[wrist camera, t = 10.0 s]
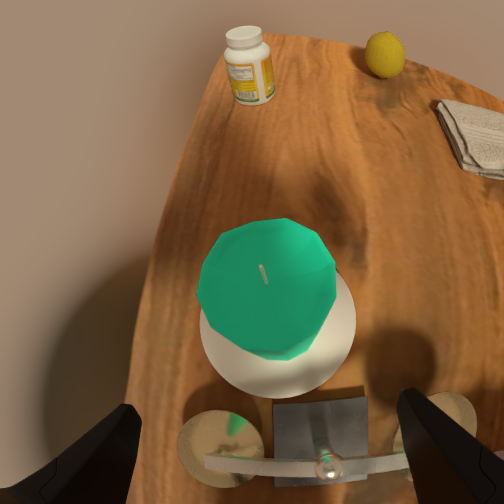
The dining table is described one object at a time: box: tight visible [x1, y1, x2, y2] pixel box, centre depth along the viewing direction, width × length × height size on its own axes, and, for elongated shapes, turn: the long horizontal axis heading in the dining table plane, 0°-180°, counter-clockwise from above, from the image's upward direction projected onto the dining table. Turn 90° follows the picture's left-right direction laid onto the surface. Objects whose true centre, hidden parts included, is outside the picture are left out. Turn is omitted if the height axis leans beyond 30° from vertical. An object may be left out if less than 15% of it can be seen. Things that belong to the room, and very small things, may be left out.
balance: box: [177, 392, 477, 488], centre depth 15 cm, size 7×21×8 cm, turn 91°
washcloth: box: [435, 99, 504, 180], centre depth 25 cm, size 12×18×3 cm, turn 88°
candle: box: [196, 218, 337, 361], centre depth 16 cm, size 6×6×12 cm
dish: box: [200, 271, 356, 398], centre depth 22 cm, size 12×12×1 cm
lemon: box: [365, 31, 405, 79], centre depth 30 cm, size 6×6×8 cm
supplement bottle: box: [224, 26, 275, 106], centre depth 30 cm, size 5×5×10 cm
